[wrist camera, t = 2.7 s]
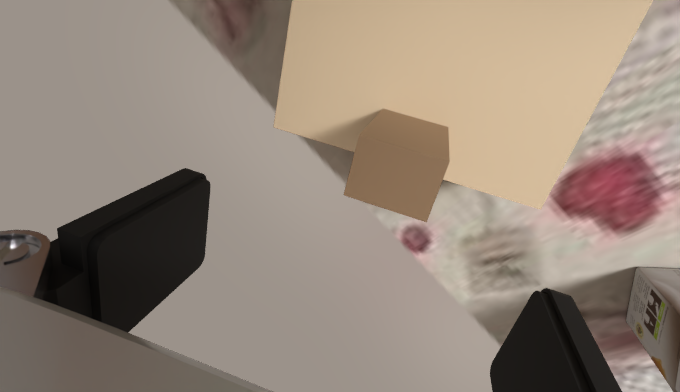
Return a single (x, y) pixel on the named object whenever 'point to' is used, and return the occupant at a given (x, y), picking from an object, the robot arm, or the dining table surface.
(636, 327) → the coffee box
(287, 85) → the wooden box lid
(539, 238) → the dining table surface
